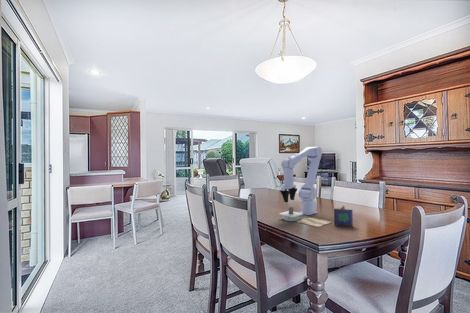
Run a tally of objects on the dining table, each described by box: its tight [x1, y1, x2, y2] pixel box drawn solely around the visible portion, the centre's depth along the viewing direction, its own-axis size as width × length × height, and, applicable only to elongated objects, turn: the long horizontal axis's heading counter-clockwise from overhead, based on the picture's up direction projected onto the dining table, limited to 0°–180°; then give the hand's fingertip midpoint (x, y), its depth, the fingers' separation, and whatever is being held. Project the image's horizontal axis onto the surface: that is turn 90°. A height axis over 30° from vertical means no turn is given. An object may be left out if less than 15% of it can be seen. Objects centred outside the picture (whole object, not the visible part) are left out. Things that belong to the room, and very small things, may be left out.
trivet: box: [295, 216, 333, 228], centre depth 141 cm, size 14×14×1 cm
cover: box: [278, 206, 304, 217], centre depth 149 cm, size 10×10×4 cm
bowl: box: [282, 215, 300, 222], centre depth 149 cm, size 9×9×3 cm
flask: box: [333, 205, 354, 227], centre depth 134 cm, size 9×3×11 cm, turn 74°
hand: (289, 201), depth 152 cm, fingers open, 7 cm apart
